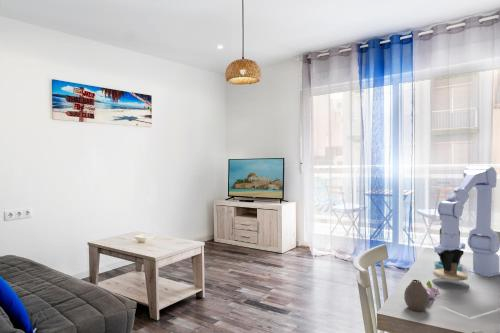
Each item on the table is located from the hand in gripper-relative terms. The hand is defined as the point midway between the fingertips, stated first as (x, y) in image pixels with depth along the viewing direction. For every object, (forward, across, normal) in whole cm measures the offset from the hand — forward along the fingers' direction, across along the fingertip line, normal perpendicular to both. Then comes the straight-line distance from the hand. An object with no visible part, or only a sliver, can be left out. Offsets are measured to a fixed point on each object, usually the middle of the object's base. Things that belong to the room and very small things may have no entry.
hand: (450, 269), depth 127 cm
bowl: (+6, +10, +8) cm, 14 cm away
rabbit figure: (+6, -18, -5) cm, 20 cm away
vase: (+6, -29, -9) cm, 31 cm away
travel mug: (+6, +27, +19) cm, 33 cm away
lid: (+2, 0, 0) cm, 2 cm away
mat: (+6, 0, 0) cm, 6 cm away
